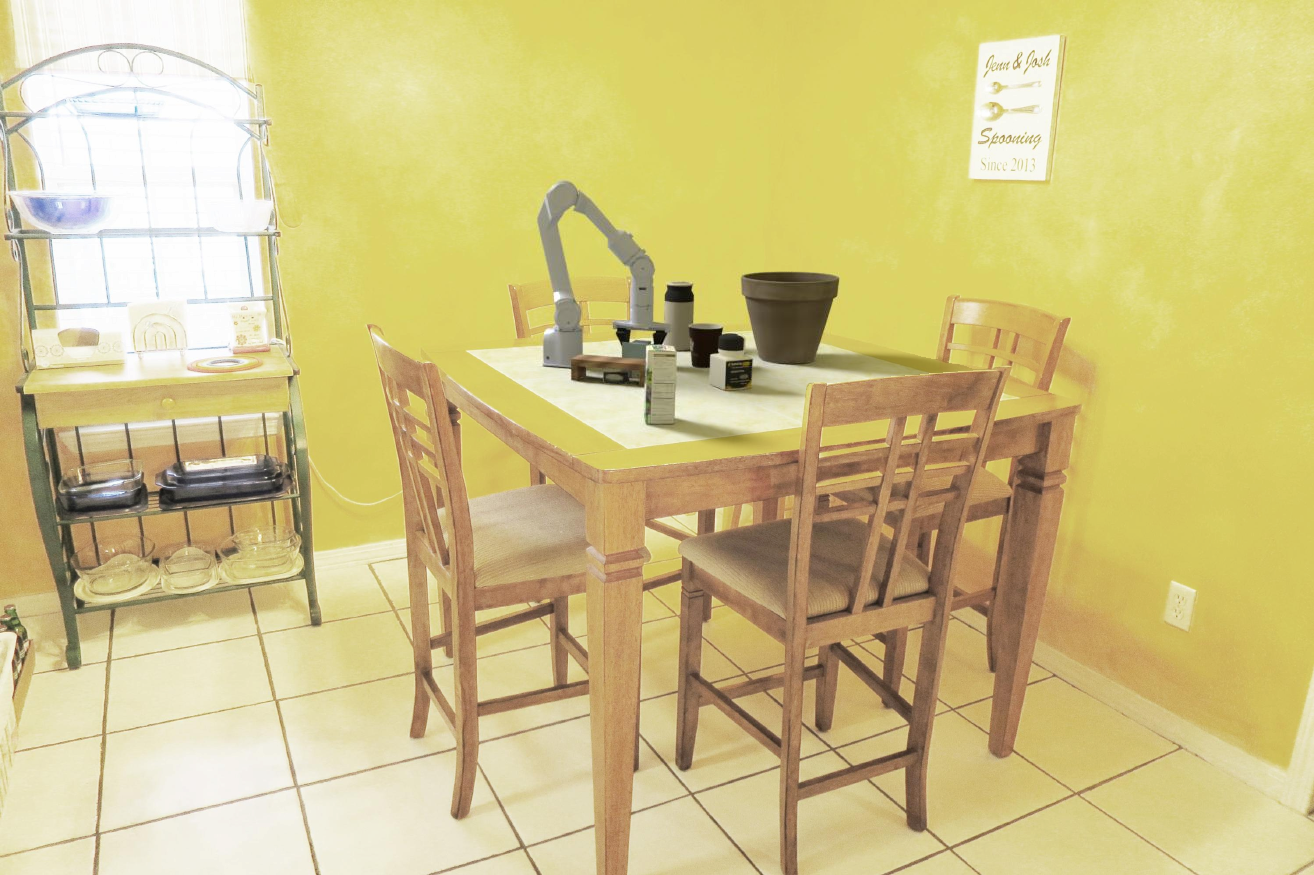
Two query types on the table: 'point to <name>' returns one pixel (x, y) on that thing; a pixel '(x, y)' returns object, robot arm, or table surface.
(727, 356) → the medicine bottle
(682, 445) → the table surface
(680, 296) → the travel mug
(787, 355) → the plant pot
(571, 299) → the robot arm
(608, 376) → the token
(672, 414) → the syrup box
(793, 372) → the table surface
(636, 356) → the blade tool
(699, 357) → the coffee mug
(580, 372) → the riser shelf
